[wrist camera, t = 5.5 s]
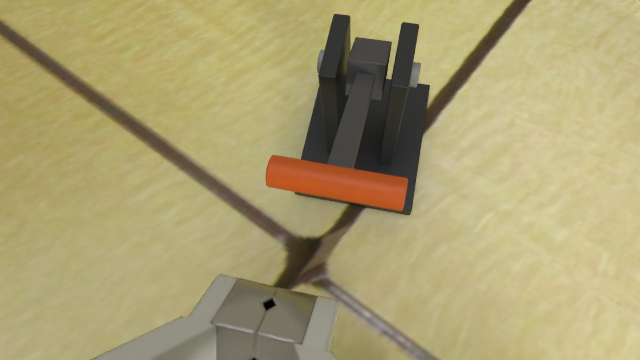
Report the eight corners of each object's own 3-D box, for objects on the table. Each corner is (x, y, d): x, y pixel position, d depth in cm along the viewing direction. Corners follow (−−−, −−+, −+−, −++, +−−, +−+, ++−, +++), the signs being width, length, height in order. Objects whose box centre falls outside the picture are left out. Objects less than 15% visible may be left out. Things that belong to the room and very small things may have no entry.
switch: (399, 225, 19) (408, 186, 17) (266, 200, 19) (263, 161, 18) (416, 80, 27) (423, 45, 25) (323, 67, 28) (325, 32, 26)
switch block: (409, 215, 32) (439, 150, 21) (295, 194, 34) (267, 122, 23) (427, 92, 36) (461, -17, 25) (324, 77, 37) (312, -33, 26)
